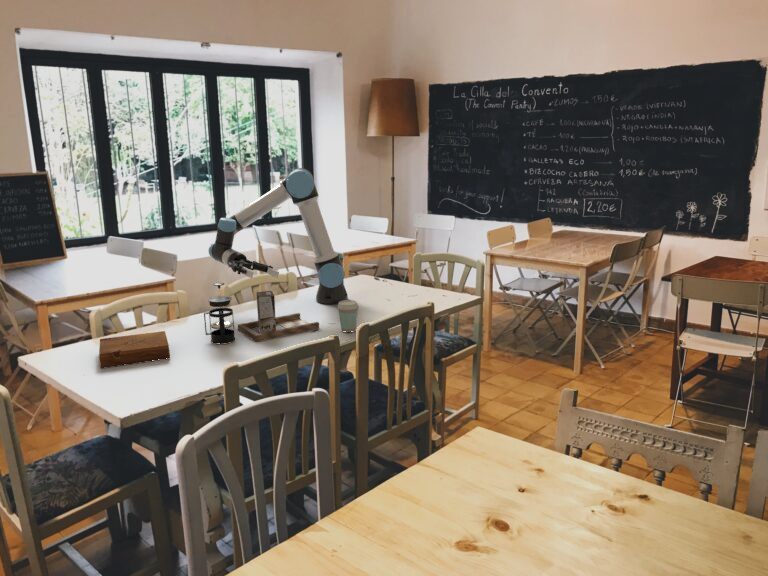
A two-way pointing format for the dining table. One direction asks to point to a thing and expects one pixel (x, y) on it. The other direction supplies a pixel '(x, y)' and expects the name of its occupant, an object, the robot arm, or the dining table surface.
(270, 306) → the coffee box
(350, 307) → the coffee cup
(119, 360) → the brown wooden flat block
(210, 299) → the french press
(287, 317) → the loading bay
